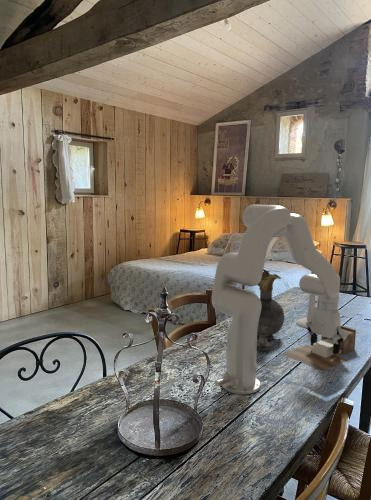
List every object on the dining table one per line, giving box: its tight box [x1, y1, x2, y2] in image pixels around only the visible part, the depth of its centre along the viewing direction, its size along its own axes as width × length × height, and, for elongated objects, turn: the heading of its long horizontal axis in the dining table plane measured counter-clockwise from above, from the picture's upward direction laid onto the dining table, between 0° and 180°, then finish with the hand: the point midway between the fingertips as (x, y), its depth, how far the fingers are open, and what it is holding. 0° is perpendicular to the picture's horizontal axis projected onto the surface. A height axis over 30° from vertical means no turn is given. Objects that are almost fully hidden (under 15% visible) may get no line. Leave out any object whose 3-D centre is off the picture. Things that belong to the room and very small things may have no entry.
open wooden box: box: [282, 324, 357, 372], centre depth 155 cm, size 26×18×9 cm
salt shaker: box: [257, 323, 272, 352], centre depth 157 cm, size 6×6×12 cm
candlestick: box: [296, 271, 316, 329], centre depth 189 cm, size 13×13×30 cm
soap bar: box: [312, 337, 342, 357], centre depth 158 cm, size 15×6×4 cm, turn 127°
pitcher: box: [241, 269, 285, 341], centre depth 173 cm, size 11×19×30 cm, turn 56°
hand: (324, 349), depth 155 cm, fingers open, 9 cm apart
